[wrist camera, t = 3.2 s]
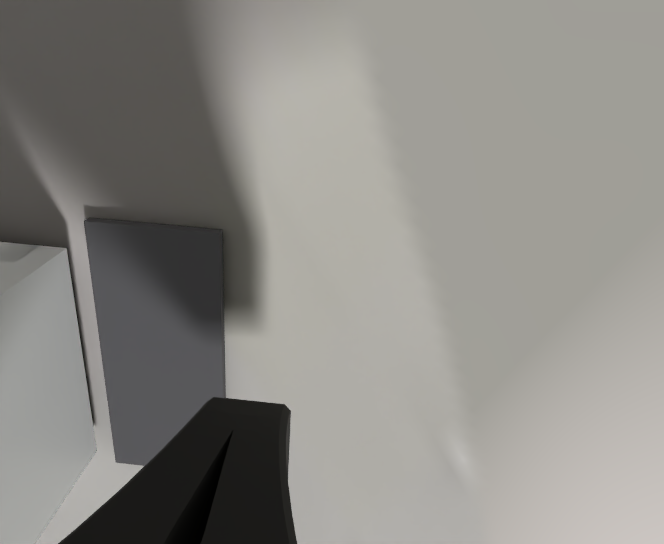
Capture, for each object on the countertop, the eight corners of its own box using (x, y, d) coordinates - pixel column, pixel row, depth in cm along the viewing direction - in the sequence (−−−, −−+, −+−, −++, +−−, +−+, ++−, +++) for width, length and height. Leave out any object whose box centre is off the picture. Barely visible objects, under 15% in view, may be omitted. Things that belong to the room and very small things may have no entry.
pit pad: (226, 468, 13) (224, 474, 13) (119, 455, 13) (116, 462, 13) (221, 229, 10) (219, 233, 10) (88, 217, 10) (83, 221, 10)
